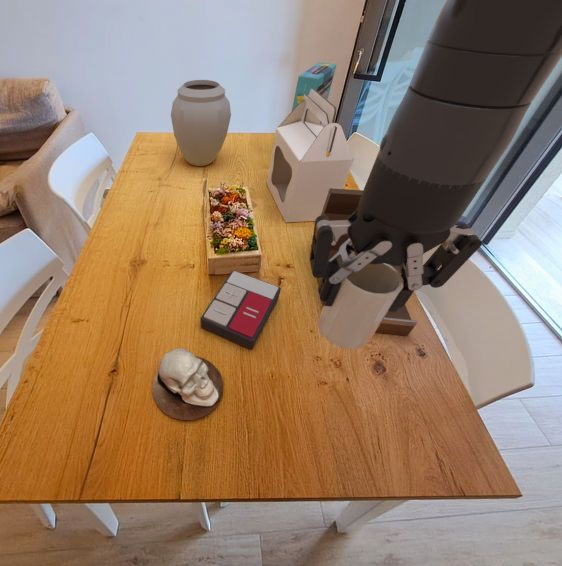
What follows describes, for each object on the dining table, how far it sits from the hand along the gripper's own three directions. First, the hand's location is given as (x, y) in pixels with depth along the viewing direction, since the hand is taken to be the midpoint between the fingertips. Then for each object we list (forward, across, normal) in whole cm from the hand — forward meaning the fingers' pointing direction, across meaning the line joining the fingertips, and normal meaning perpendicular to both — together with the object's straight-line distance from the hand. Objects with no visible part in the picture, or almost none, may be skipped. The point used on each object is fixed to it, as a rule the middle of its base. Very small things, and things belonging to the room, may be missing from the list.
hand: (357, 303), depth 37 cm
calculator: (+24, -11, +18) cm, 32 cm away
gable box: (+24, +5, +64) cm, 69 cm away
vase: (+24, -27, +87) cm, 94 cm away
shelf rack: (+24, +14, +29) cm, 40 cm away
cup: (+5, 0, 0) cm, 5 cm away
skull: (+24, -20, 0) cm, 31 cm away
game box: (+24, +9, +96) cm, 99 cm away
